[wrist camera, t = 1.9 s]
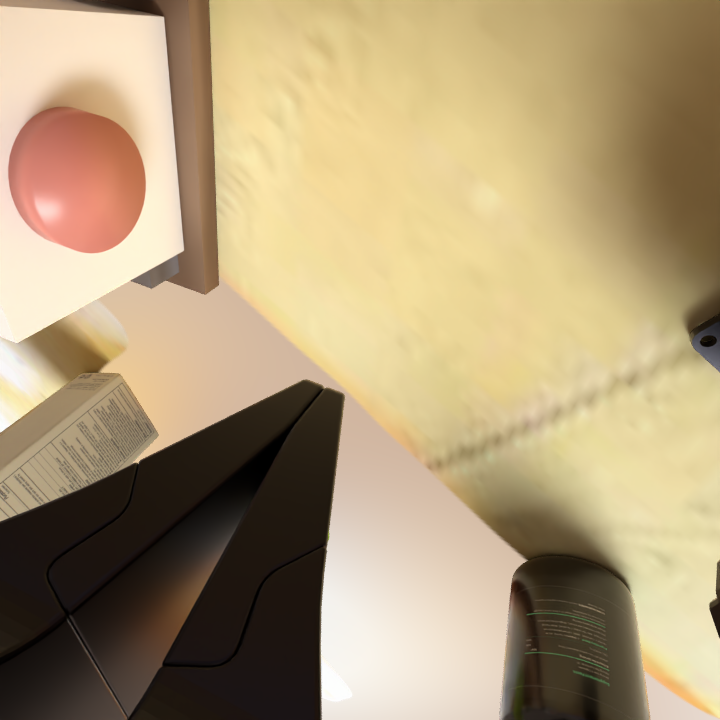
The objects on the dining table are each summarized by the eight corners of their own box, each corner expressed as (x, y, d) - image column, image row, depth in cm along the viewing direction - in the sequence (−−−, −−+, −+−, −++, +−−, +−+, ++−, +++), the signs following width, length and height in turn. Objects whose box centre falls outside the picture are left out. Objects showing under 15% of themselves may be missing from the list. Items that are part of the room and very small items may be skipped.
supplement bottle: (620, 631, 28) (650, 913, 19) (508, 601, 31) (486, 838, 22) (646, 570, 25) (697, 882, 16) (516, 540, 27) (493, 795, 18)
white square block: (187, 22, 16) (-85, 7, 9) (201, 256, 22) (39, 353, 15) (95, 0, 17) (-221, -29, 10) (132, 232, 22) (-52, 314, 16)
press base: (206, -55, 16) (114, -80, 12) (218, 285, 24) (166, 322, 21) (-131, -124, 18) (-277, -159, 15) (-14, 202, 27) (-92, 224, 24)
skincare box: (82, 370, 33) (-104, 498, 24) (122, 371, 32) (-61, 509, 22) (124, 435, 37) (-26, 570, 27) (163, 439, 35) (17, 585, 25)
